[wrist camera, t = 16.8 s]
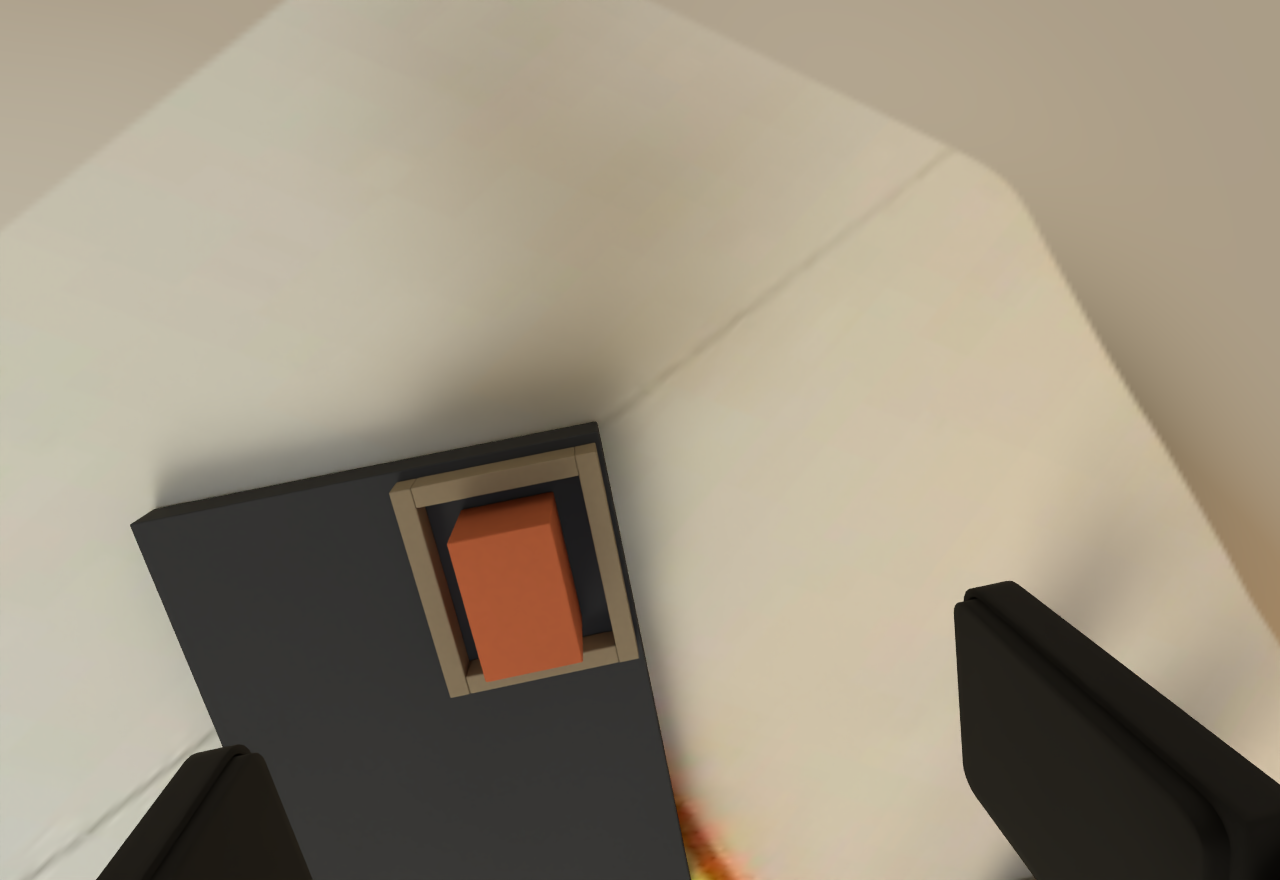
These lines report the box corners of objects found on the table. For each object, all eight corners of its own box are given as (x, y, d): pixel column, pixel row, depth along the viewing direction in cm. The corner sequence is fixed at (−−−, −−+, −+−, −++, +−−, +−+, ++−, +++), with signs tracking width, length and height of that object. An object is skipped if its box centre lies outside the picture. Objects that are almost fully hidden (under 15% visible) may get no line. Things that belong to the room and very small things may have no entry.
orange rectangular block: (460, 509, 34) (445, 543, 30) (553, 490, 34) (550, 522, 30) (494, 636, 36) (485, 683, 32) (582, 617, 36) (583, 662, 32)
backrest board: (153, 508, 34) (108, 537, 31) (596, 420, 35) (599, 439, 32) (337, 961, 43) (317, 1022, 39) (691, 881, 44) (701, 935, 40)
